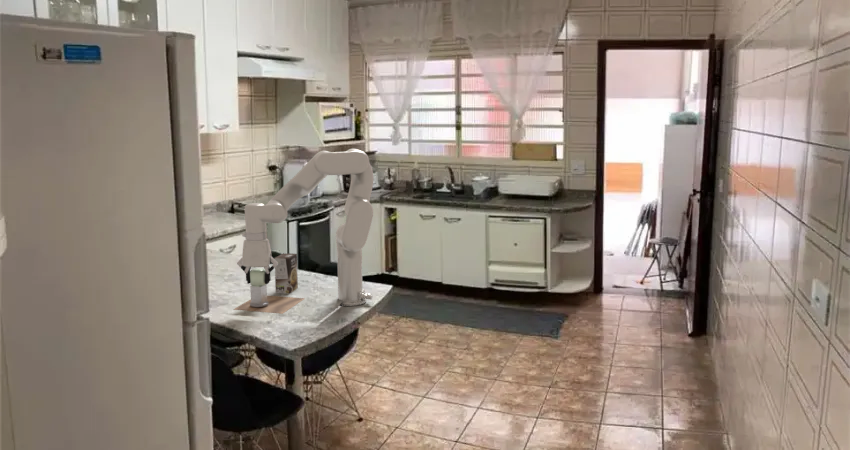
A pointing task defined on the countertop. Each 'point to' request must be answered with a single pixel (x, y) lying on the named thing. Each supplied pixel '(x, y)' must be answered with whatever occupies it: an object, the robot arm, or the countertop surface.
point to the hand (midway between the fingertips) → (258, 282)
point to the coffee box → (286, 273)
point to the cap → (257, 277)
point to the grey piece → (258, 296)
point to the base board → (273, 304)
